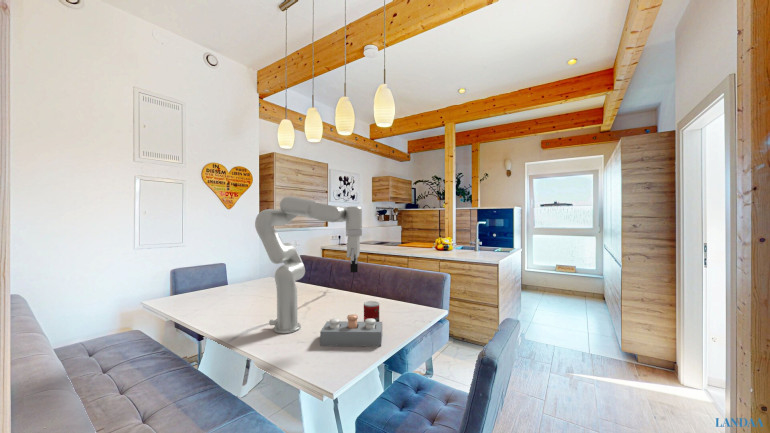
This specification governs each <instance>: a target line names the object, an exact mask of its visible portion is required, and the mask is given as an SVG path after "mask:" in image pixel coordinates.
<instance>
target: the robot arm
mask: <svg viewBox="0 0 770 433" xmlns="http://www.w3.org/2000/svg"><path fill="white" fill-rule="evenodd" d="M298 216H300V217H304V218H309V219H314V220H317V221H322V222H329V223H343V222H345V237H347V242H346V258H347V259H349V258H350V273H352V274H353V273H358V271H359V269H358V268H359V263H358V259H359V256H360V251H361V249H360V248H361V247H360V246H361V245H360V244H361V242H360V241H361V238H360V237H363V209H362V207H361V206H356V205H355V206H351V205H350V206H341V205H331V204H325V203H321V202H320V203H319V202H316V201H315V200H311V199H305V198H301V197H298V196H297V197H296V196H284V197H283V198H282V199H281V200H280V202H279V209H277V208H266V209H264V210H261V211H260V212H258V214H257V215H256V217H255V222H254V227H255V230H256V232H257V236H259V239H260V241H261V242H262V245H263V247H264V249H265V252H266V254H267V256H268V258H269V261H271V263H272V264H275V265H278V264H279V265H280V264H282V263H283V265H280V266H279V267H278V268H277V269H276V270H275V272H274V282H275V285H276V319H269V322H268V323H269V326H274V327H273V331H274V333H276V334H290V333H294V332H297V331H299V330H300V329H301V328H302V327H301V326H302V324H301V323H300V322H298V289H297V285H296V281H299V280H301V279H302V278H303V277H304V276H305V275H306V274H305V273H306V268H305V264H304V262H303V260H302V258H301V256H300V253H299V252H298V249H297V248H296V247H295V245H293V244H292V243H290V242H283V240H282V239H281V237H280V234H279V233H278V231H277V230H276V229H275V228H274V227H280V226H281V227H282V226H285V225H286V224H288V223H289V222H291V221H292V220H294V219H296V218H297V217H298Z"/></svg>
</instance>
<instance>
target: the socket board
mask: <svg viewBox="0 0 770 433" xmlns="http://www.w3.org/2000/svg"><path fill="white" fill-rule="evenodd" d="M319 333H320V334H319V336H320V337H319V340H320V341H319V342H320V346H323V347H324V346H325V347H326V346H327V347H330V346H331V347H332V346H334V347H382V341H383V321H379V322H376V323H375V329H366V323H365V322H364V321H357V329H348V321H341V320H340V323H339V329H332V328H330V320H329V321H327V320H326V322H325V324H324V325H323V326H322V328H321V330H320V331H319Z"/></svg>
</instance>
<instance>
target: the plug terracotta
mask: <svg viewBox="0 0 770 433" xmlns="http://www.w3.org/2000/svg"><path fill="white" fill-rule="evenodd" d="M346 319H347V322H348V329H357V322H358V319H359V317H358V315H357V314H355V313H354V314H349V315H347V318H346Z"/></svg>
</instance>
